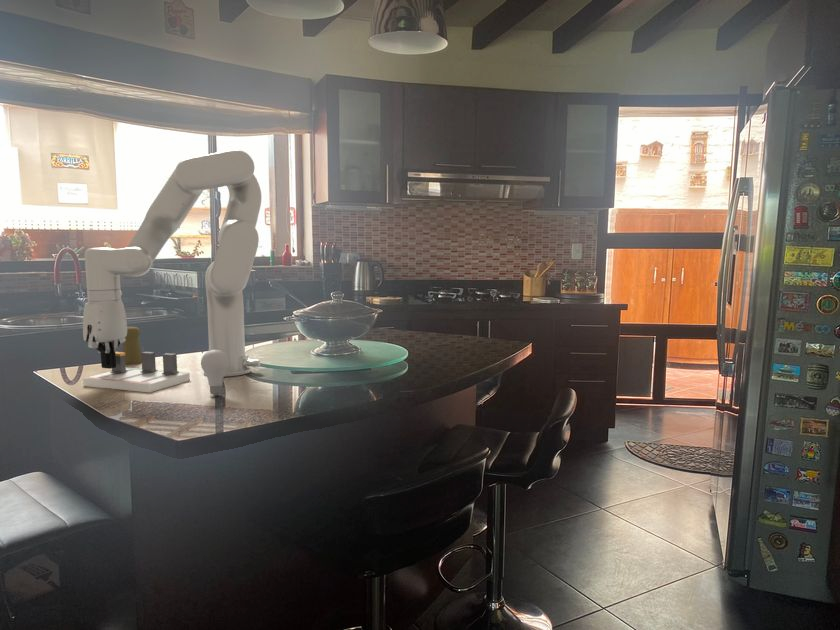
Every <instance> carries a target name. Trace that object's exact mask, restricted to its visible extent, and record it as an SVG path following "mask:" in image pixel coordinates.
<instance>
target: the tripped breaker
mask: <svg viewBox="0 0 840 630" xmlns="http://www.w3.org/2000/svg"><path fill="white" fill-rule="evenodd" d="M115 355H116V367H115V368H111V371H112V372H111V371H109V372H110V373H117V374H119V373H123V372H127V371H128V370H126V368H127V365H126V362H125V352H122V351H121V352H120V351H117V352H115Z"/></svg>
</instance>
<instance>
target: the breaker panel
mask: <svg viewBox="0 0 840 630" xmlns="http://www.w3.org/2000/svg"><path fill="white" fill-rule="evenodd" d="M126 370H128V371H127V372H123V373H119V374H117V373H110V372H112V370H111V371H107V372H103V373H98V374H94V375H91V376H87V377H82V385H83V387H89V386H90V387H92V388H101V389H110V388H111V389H110V390H122V391H132V392H142V393H152V392H157V391H159V390H162V389H166V388H169V387H172V386H176V385H178V384H183V383H186V382H188V381H190V380H191V379H190V378H191V377H190V376H191V375H190V372H184V371H179V373H175V374H172V375H165V374H162V373H164V371H163V370H161V369H160V370H159V369H156V370H157V371H155V372H151V373H141V372H140V371H142V368H139V367H138V368H137V367H136V368H135V367H126Z"/></svg>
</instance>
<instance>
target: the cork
mask: <svg viewBox="0 0 840 630" xmlns="http://www.w3.org/2000/svg"><path fill="white" fill-rule="evenodd" d="M140 335H141V330H140V328H139V327H137V326H127V335H126V337H125V339H126V340H125V342H123V343H122V351H121V352H125V362H126V366H128V365H129V366H130V365H133V366H134V365H138V364H142V359H141V353H142V348H141V344H140V340H139V337H140Z"/></svg>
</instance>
